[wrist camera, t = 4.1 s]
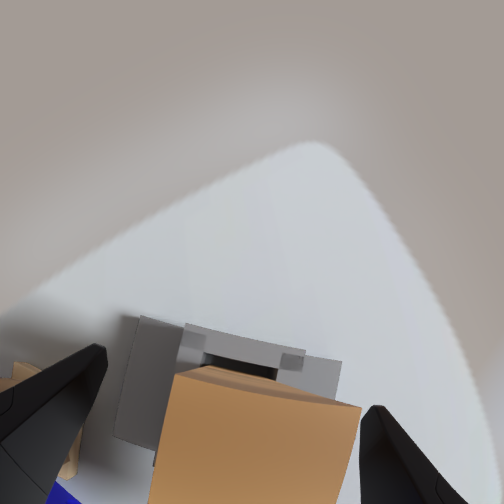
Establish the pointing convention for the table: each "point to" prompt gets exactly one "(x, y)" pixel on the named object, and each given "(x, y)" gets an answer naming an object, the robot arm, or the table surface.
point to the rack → (196, 356)
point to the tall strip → (250, 442)
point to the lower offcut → (70, 468)
